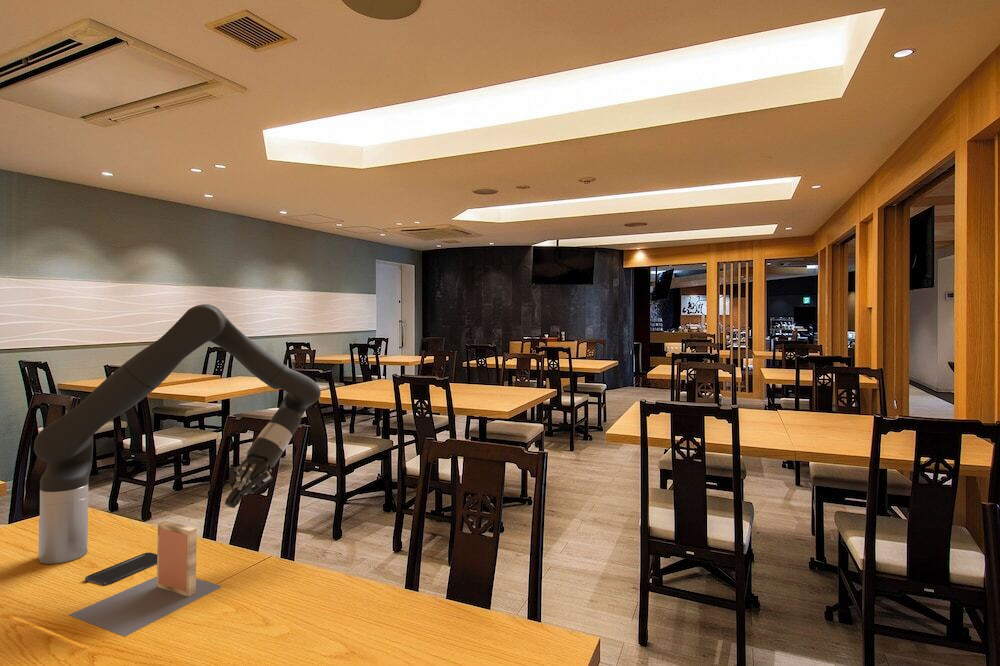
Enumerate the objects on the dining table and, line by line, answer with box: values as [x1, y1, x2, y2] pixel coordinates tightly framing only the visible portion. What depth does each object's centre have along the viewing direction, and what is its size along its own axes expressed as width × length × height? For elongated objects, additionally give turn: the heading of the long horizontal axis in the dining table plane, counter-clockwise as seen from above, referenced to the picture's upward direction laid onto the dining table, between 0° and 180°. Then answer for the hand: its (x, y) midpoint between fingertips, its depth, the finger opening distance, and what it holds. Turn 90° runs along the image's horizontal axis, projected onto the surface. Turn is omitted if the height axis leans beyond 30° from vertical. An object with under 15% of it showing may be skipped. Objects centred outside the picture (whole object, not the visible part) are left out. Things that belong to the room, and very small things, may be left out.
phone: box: [84, 552, 157, 586], centre depth 125 cm, size 8×1×15 cm
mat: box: [68, 576, 224, 637], centre depth 112 cm, size 17×21×1 cm
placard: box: [156, 520, 198, 597], centre depth 116 cm, size 10×2×14 cm, turn 67°
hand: (229, 506), depth 128 cm, fingers closed
